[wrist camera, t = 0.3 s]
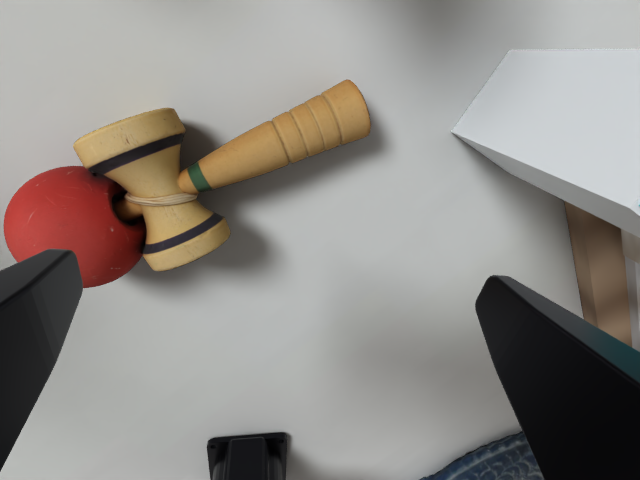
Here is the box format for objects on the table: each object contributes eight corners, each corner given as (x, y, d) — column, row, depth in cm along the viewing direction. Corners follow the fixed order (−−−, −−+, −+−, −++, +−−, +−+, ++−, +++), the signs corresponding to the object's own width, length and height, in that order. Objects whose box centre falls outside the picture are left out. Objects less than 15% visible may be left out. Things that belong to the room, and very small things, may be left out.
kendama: (312, 16, 19) (-21, 160, 18) (362, 25, 14) (-93, 226, 13) (350, 147, 24) (88, 269, 23) (397, 188, 19) (66, 347, 18)
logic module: (508, 172, 23) (714, 274, 13) (450, 131, 22) (632, 209, 11) (566, 100, 22) (860, 146, 11) (509, 49, 20) (790, 46, 9)
